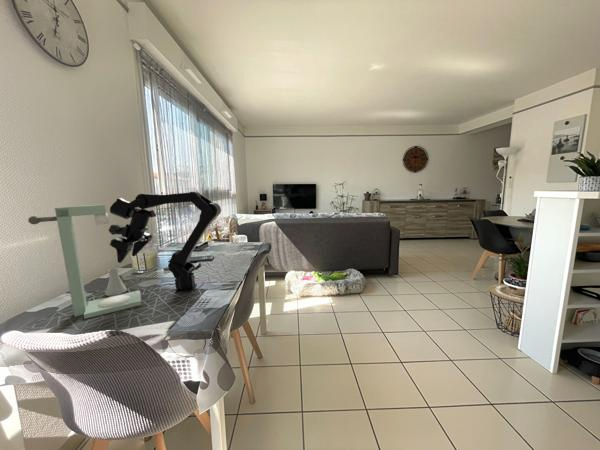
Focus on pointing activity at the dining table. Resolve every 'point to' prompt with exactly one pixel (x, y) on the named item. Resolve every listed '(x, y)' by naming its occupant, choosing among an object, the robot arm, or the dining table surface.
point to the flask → (115, 284)
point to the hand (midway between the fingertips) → (126, 259)
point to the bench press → (73, 263)
